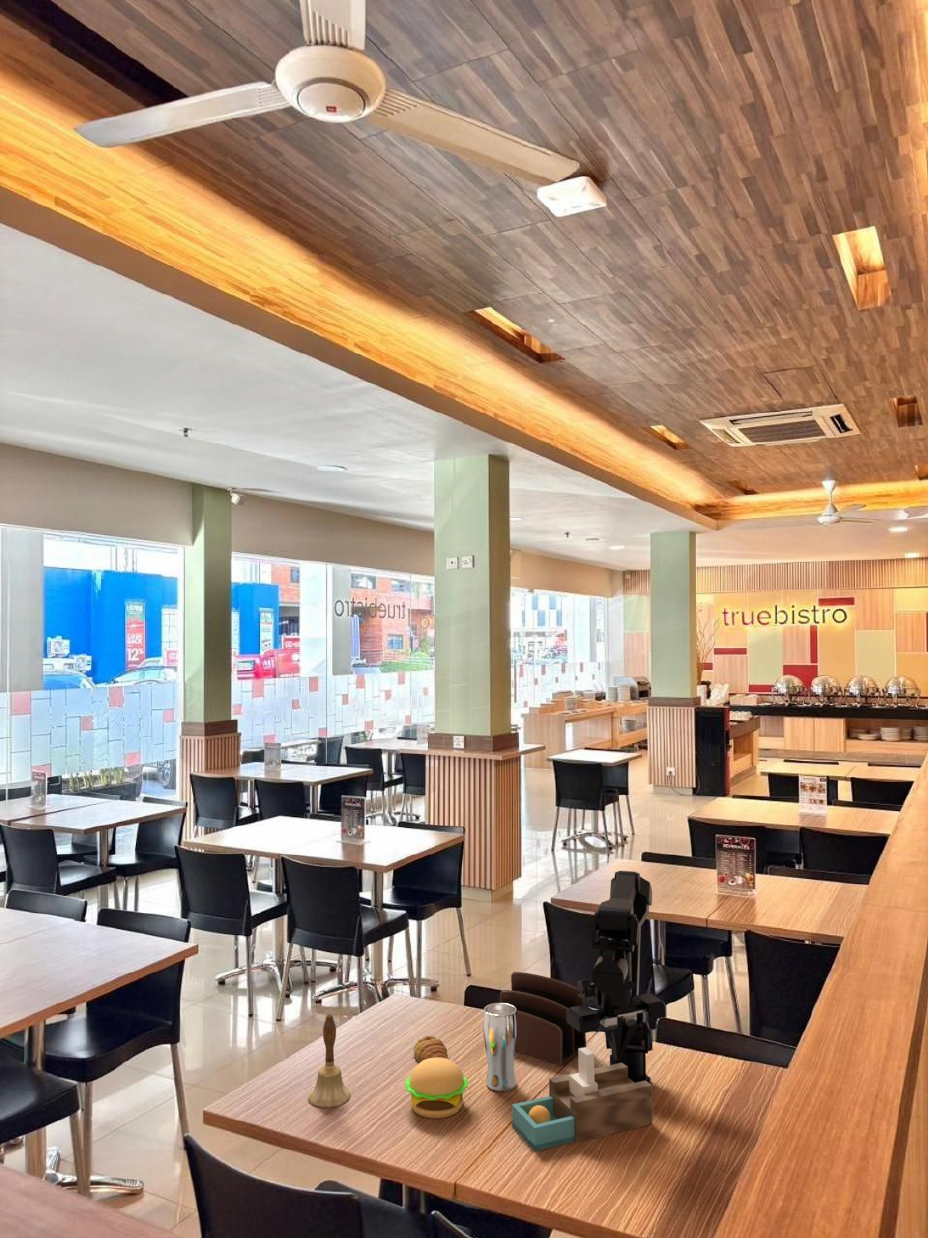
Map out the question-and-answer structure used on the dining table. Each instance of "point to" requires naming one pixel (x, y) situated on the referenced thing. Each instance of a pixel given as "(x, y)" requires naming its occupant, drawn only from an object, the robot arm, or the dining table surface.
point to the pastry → (429, 1049)
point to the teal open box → (542, 1125)
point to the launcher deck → (604, 1103)
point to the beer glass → (500, 1045)
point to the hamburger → (436, 1088)
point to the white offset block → (583, 1074)
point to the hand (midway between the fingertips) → (617, 1058)
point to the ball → (539, 1114)
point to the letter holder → (544, 1017)
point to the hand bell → (329, 1074)
